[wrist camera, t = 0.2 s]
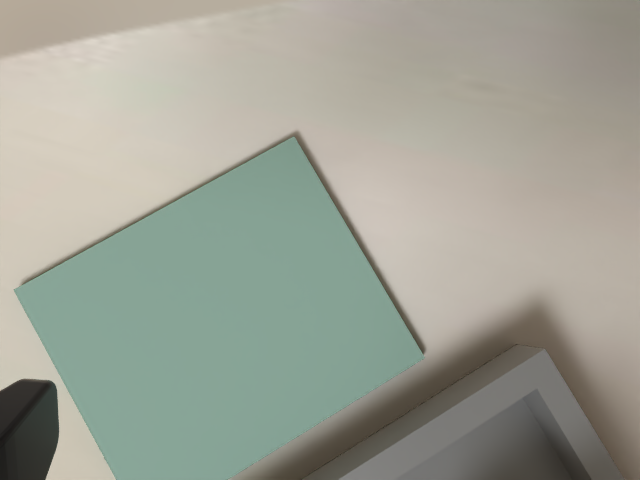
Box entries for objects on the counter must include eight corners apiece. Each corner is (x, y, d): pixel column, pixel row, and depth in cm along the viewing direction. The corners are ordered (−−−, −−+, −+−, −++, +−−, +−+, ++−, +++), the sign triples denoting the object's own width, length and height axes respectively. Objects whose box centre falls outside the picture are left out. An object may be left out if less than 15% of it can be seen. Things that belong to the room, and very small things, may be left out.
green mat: (422, 357, 23) (425, 358, 22) (146, 527, 21) (144, 531, 21) (293, 138, 23) (294, 136, 23) (18, 290, 22) (13, 289, 22)
